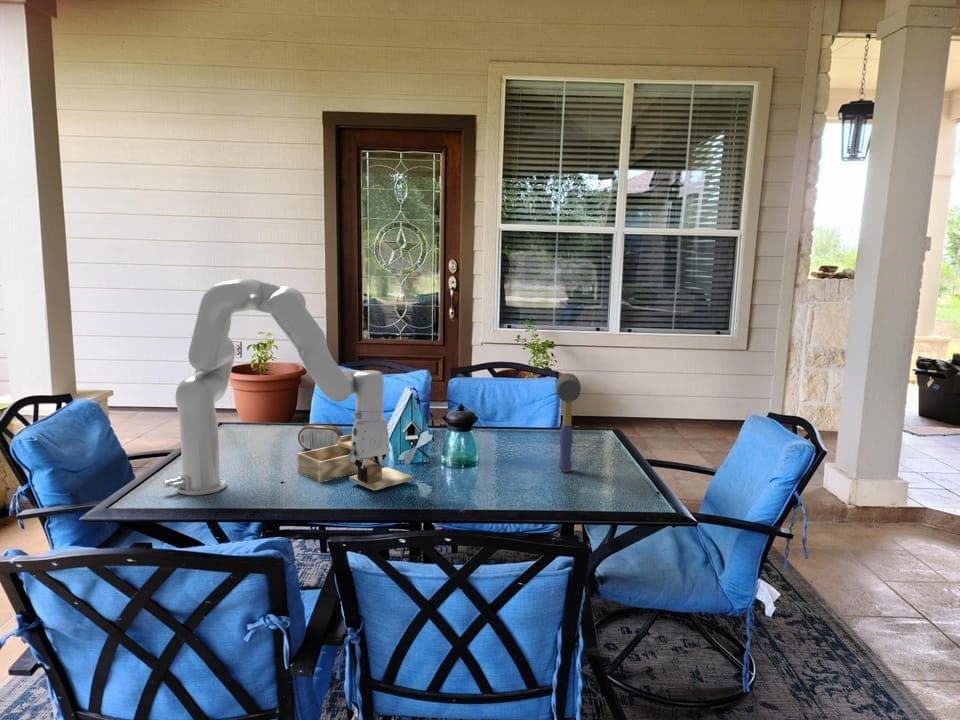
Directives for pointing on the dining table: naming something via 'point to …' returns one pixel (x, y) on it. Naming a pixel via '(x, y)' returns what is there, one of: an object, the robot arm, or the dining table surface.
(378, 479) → the lid
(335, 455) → the toolbox
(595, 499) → the dining table surface
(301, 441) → the tin
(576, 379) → the rubber mallet
